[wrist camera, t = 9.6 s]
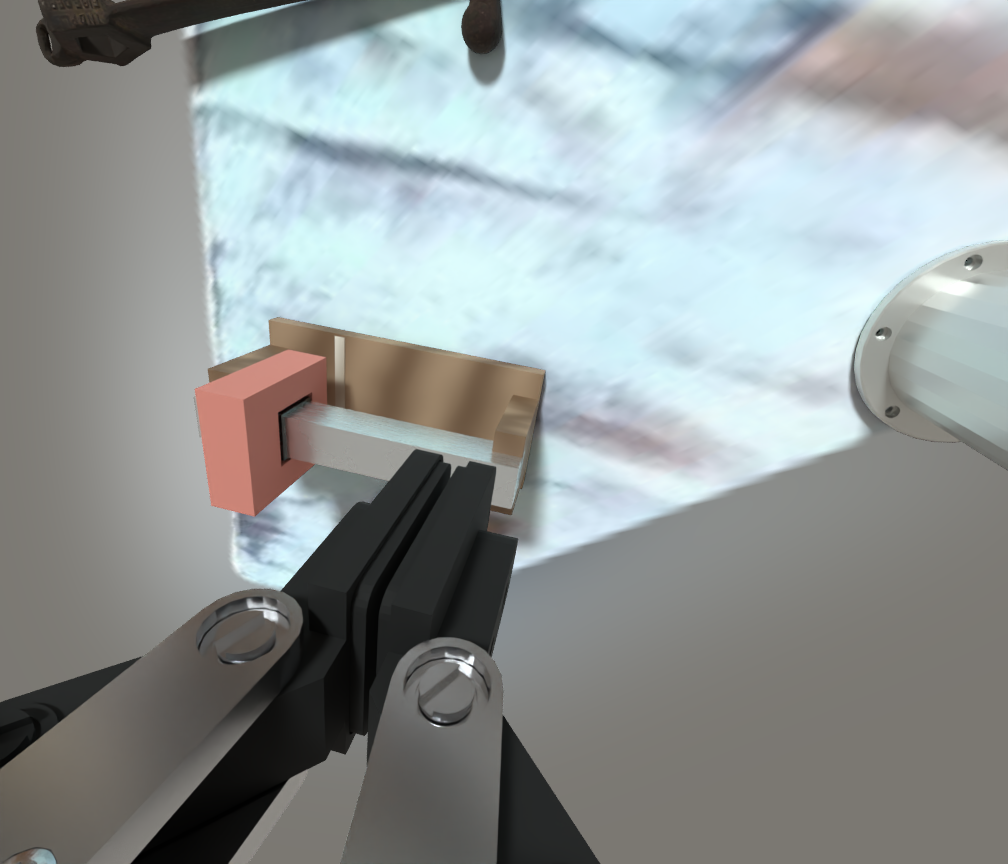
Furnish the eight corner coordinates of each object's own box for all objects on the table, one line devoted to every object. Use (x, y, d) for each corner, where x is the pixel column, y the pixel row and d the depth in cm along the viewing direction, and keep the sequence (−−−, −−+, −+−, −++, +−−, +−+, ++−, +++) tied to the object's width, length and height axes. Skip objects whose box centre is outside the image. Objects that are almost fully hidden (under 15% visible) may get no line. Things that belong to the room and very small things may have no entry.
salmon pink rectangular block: (326, 357, 35) (243, 399, 27) (327, 453, 38) (254, 516, 30) (288, 349, 35) (194, 389, 27) (293, 445, 39) (211, 505, 31)
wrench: (508, 67, 31) (98, 121, 35) (502, -34, 29) (71, 35, 33) (498, 32, 26) (22, 99, 30) (490, -92, 24) (-14, -2, 28)
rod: (526, 443, 32) (518, 467, 29) (518, 486, 34) (510, 513, 31) (227, 379, 34) (191, 395, 31) (232, 421, 36) (197, 440, 33)
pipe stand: (545, 370, 36) (531, 408, 29) (524, 481, 41) (507, 538, 33) (277, 317, 39) (204, 340, 31) (284, 427, 43) (220, 470, 36)
